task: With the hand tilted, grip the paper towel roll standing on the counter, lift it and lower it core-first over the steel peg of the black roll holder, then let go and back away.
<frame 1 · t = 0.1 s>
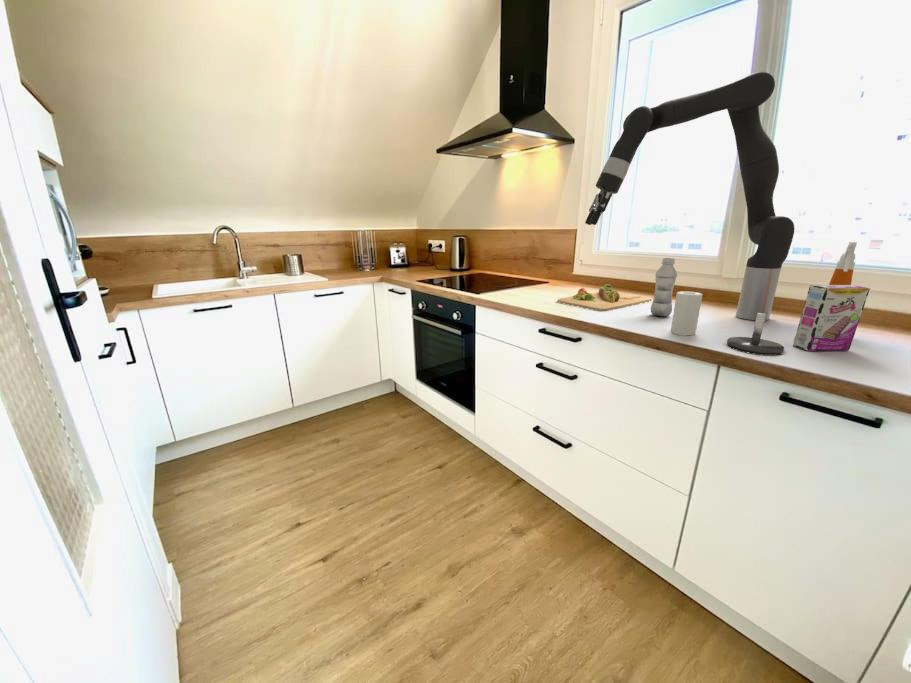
hand: (590, 224, 130), 31 cm above the table, tool tilted 20°, fingers open, 8 cm apart
plastic bottle: (660, 316, 136), on the table
cutting board: (604, 303, 161), on the table
paper towel roll: (682, 332, 115), on the table
roll holder: (753, 347, 101), on the table
candy bar box: (820, 349, 100), on the table
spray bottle: (825, 335, 112), on the table
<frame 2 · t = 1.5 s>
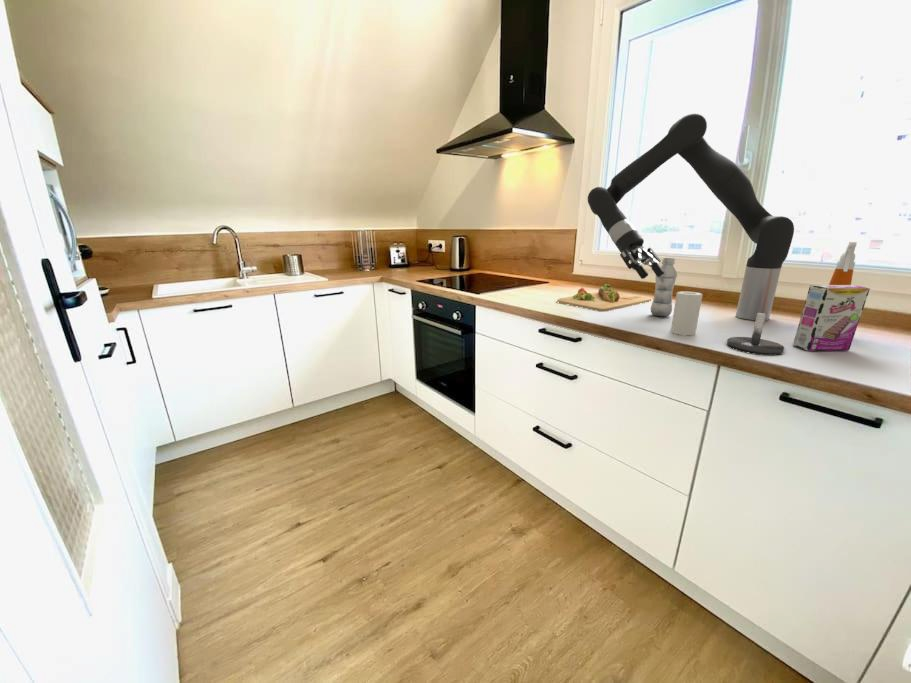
hand: (653, 276, 120), 16 cm above the table, tool tilted 45°, fingers open, 8 cm apart
nothing on the table moved.
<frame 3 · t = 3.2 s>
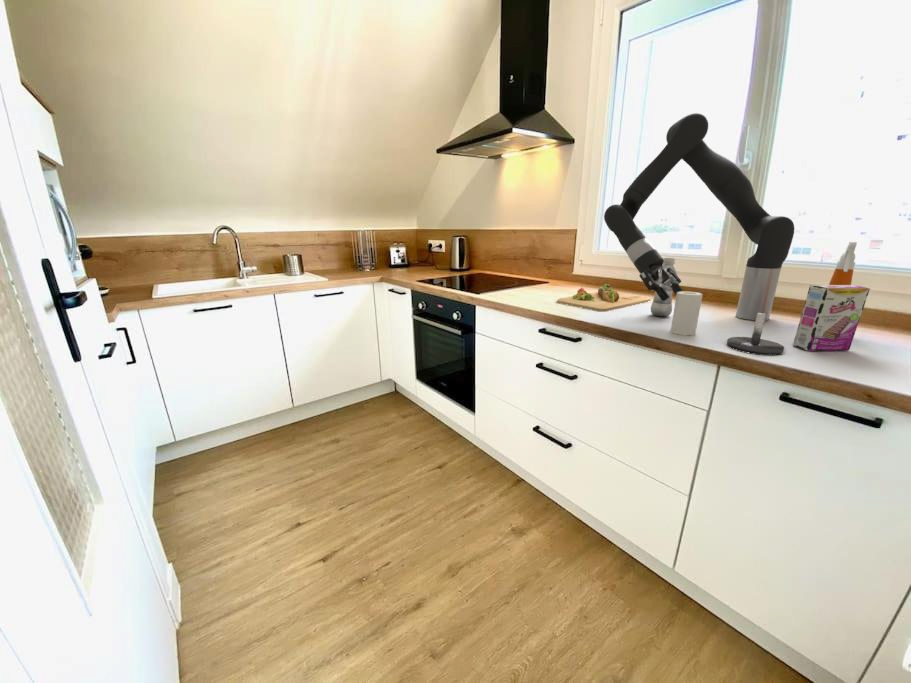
hand: (674, 297, 115), 10 cm above the table, tool tilted 45°, fingers open, 8 cm apart
nothing on the table moved.
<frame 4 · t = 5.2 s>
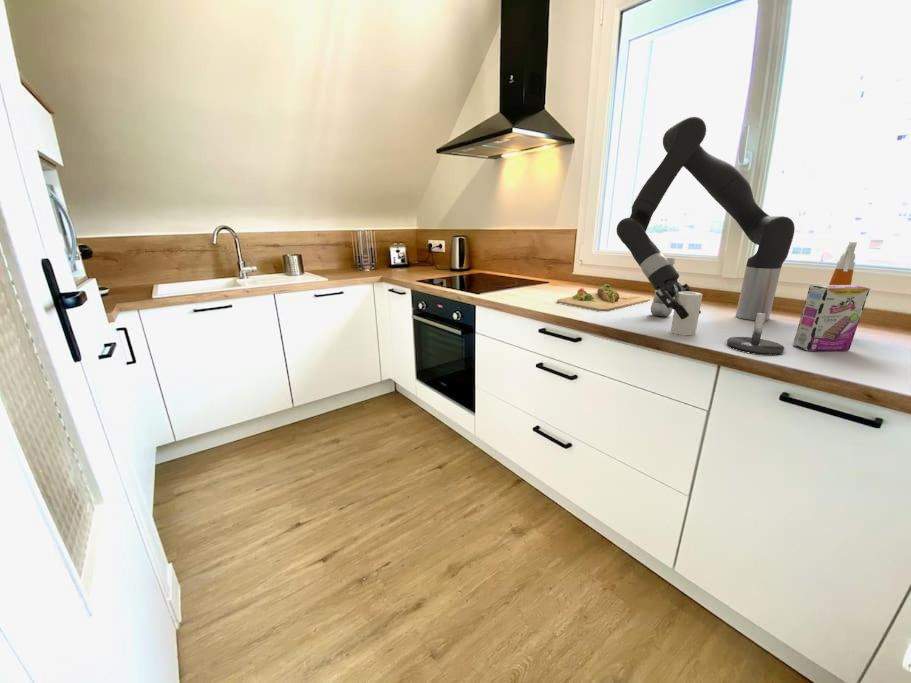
hand: (691, 315, 112), 6 cm above the table, tool tilted 45°, fingers closed on paper towel roll, 6 cm apart
paper towel roll: (682, 332, 115), on the table, touching gripper
everything else where it was.
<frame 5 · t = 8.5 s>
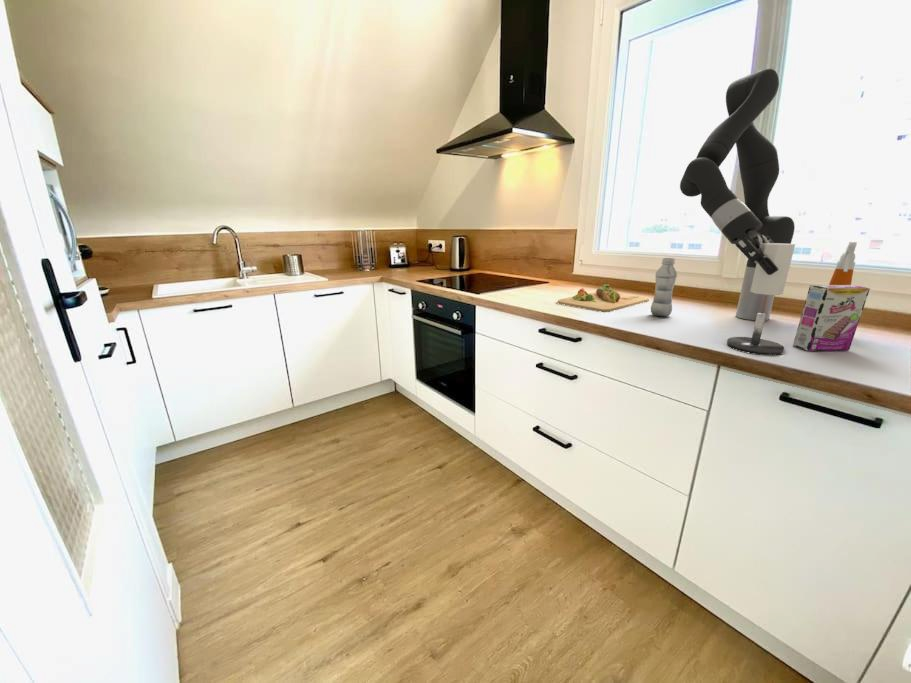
hand: (779, 271, 94), 20 cm above the table, tool tilted 45°, fingers closed on paper towel roll, 6 cm apart
paper towel roll: (766, 292, 97), point 15 cm above the table, touching gripper
when the fingers open (8 cm above the table, at t = 11.7 s): paper towel roll drops 2 cm, resting on roll holder.
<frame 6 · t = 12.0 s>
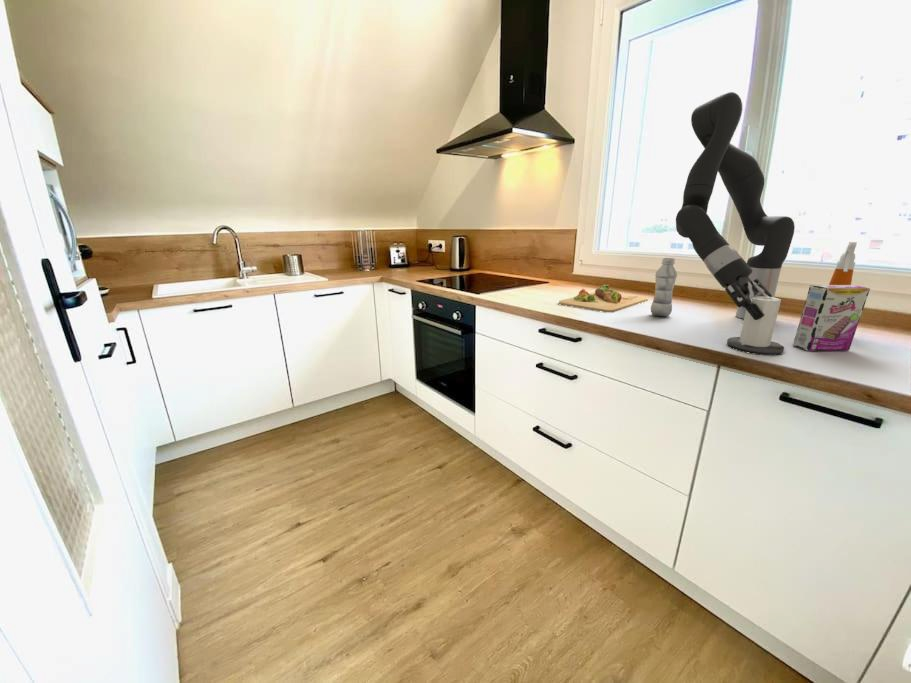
hand: (767, 316, 97), 9 cm above the table, tool tilted 45°, fingers open, 8 cm apart
paper towel roll: (754, 343, 101), point 1 cm above the table, touching roll holder
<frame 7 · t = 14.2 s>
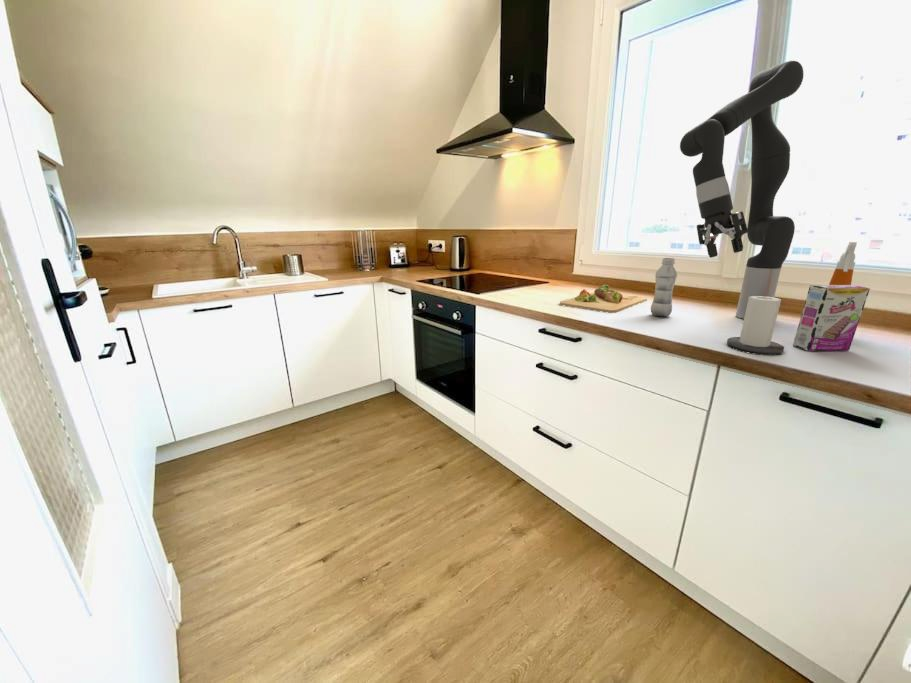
hand: (725, 254, 109), 23 cm above the table, tool tilted 20°, fingers open, 8 cm apart
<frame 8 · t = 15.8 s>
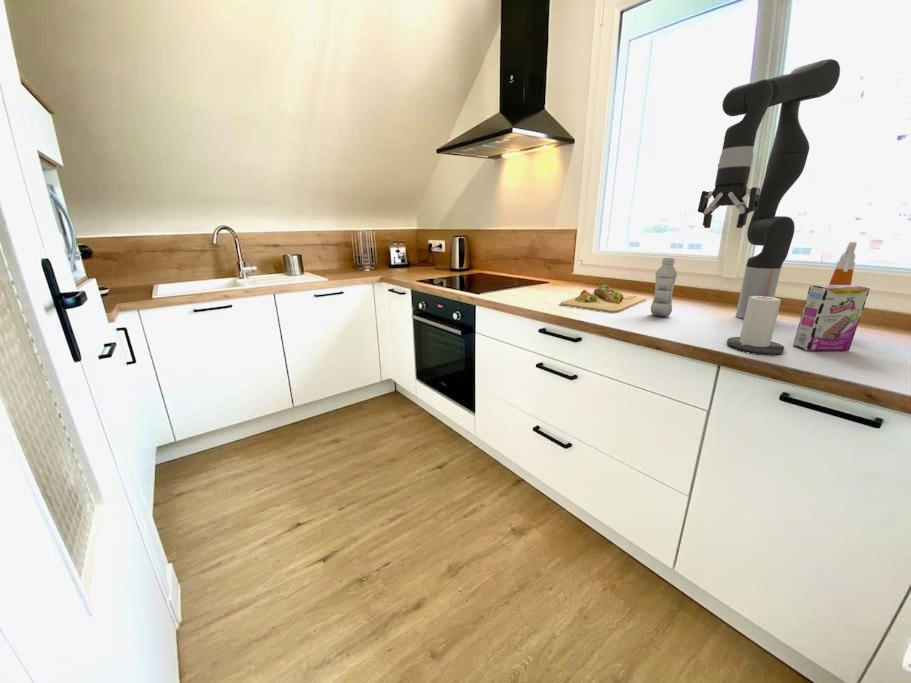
hand: (722, 227, 110), 30 cm above the table, tool pointing down, fingers open, 8 cm apart
at the end: paper towel roll 0.1 cm off-centre on the roll holder, point 1.2 cm above the roll holder's base; paper towel roll tilted 0°; the gripper is holding nothing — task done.
